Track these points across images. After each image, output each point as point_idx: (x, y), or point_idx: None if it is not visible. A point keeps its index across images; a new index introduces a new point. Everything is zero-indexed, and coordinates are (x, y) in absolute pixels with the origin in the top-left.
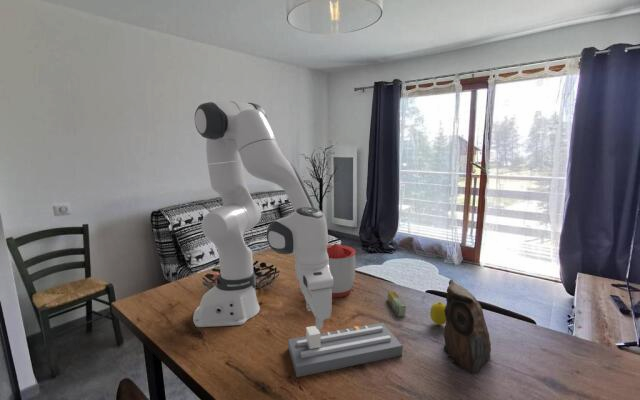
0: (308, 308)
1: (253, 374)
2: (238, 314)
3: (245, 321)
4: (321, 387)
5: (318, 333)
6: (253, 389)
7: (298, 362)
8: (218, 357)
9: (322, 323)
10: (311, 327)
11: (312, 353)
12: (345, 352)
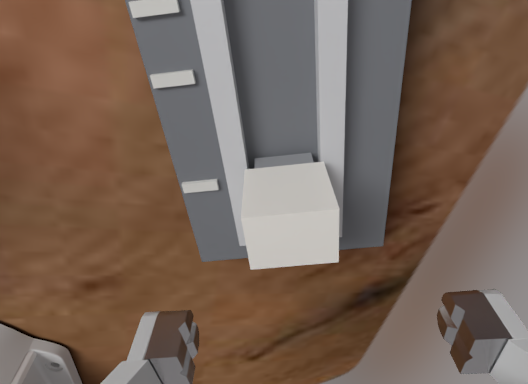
0: (193, 353)
1: (315, 313)
2: (30, 377)
3: (46, 342)
4: (455, 146)
5: (334, 218)
6: (373, 311)
7: (361, 238)
8: (227, 372)
9: (521, 325)
10: (259, 246)
11: (341, 193)
12: (370, 11)
